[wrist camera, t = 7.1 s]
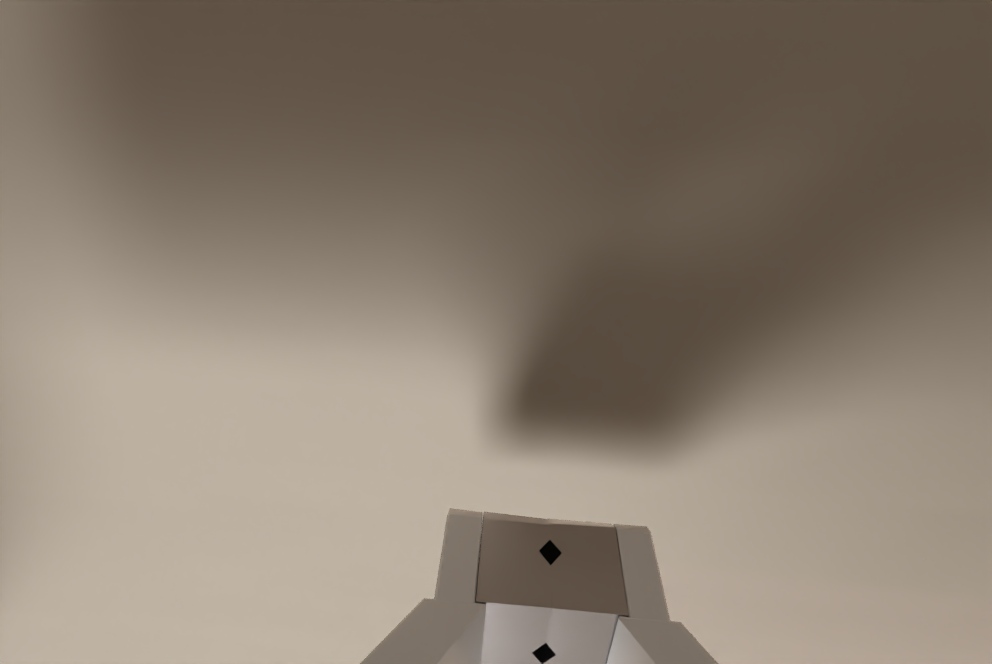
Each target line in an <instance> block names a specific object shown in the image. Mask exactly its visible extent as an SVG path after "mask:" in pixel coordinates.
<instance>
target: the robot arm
mask: <svg viewBox="0 0 992 664" xmlns="http://www.w3.org/2000/svg"><path fill="white" fill-rule="evenodd" d="M482 516H483V523H482ZM481 529H482V533H481ZM480 541H481V544H480ZM479 553H480V555H479ZM360 664H718V663H717V662H716V661H715V660H714V658H713V657H712V656H711V655H710V654H709V653H708V652H707V651H706V650H705V649H704V647H703V646H702V645H701V644H700V643H699V642H698V641H697V640H696V639H695V638H694V636H693V635H692V634H691V633H690V632H689V631H688V630H687V629H686V628H685V627H684V625H683V624H682V623H681V622H673V621H670V618H669V613H668V608H667V604H666V599H665V595H664V590H663V586H662V581H661V577H660V572H659V568H658V563H657V558H656V554H655V549H654V545H653V540H652V536H651V532H650V531H649V529H648V528H647V527H644V526H631V525H619V524H614V525H612V524H606V523H594V522H582V521H570V520H558V519H542V518H533V517H525V516H516V515H508V514H499V513H491V512H484V514H483V512H476V511H467V510H459V509H451V508H450V510H449V513H448V515H447V521H446V527H445V533H444V540H443V546H442V552H441V559H440V565H439V571H438V578H437V584H436V590H435V597H434V599H425V598H424V599H423V600H422V601H421V602H420V603H419V604H418V605H417V606H416V607H415V608H414V609H413V610H412V611H411V612H410V613H409V614H408V615H407V616H406V617H405V618H404V619H403V620H402V621H401V622H400V623H399V624H398V625H397V626H396V627H395V628H394V629H393V630H392V631H391V632H390V633H389V635H388V636H387V637H386V638H385V639H384V640H383V641H382V642H381V643H380V644H379V645H378V646H377V647H376V648H375V649H374V650H373V651H372V652H371V653H370V654H369V655H368V656H367V657H366V658H365V659H364V660H363V661H362V662H361V663H360Z"/></svg>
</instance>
